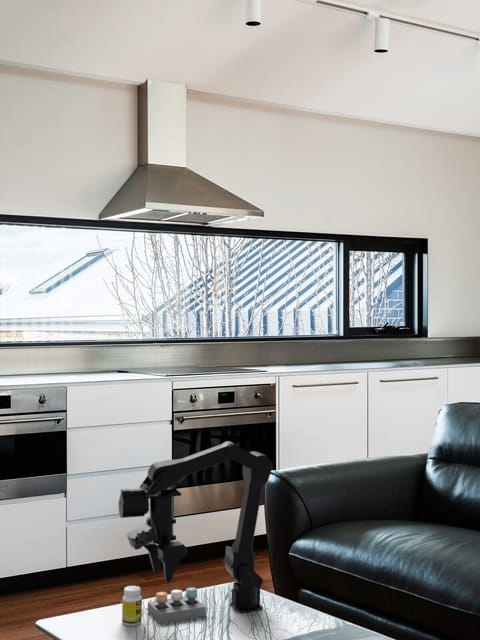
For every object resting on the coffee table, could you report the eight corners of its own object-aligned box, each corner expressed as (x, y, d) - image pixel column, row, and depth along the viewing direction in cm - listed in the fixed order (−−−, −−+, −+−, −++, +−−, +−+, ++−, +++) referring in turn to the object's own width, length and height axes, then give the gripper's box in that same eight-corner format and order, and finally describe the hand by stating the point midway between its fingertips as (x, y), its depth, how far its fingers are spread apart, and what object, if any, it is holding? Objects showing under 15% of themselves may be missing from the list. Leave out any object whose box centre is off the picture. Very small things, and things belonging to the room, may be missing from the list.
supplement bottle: (138, 627, 205) (138, 592, 205) (119, 625, 206) (119, 590, 206) (144, 619, 210) (144, 585, 210) (125, 618, 211) (126, 584, 211)
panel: (191, 604, 221) (191, 595, 221) (205, 616, 213) (205, 606, 213) (147, 611, 215) (147, 601, 215) (160, 623, 207) (160, 613, 207)
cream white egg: (179, 604, 216) (179, 589, 216) (183, 608, 213) (184, 592, 213) (169, 606, 215) (169, 590, 215) (173, 610, 212) (173, 594, 212)
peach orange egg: (164, 607, 214) (165, 591, 214) (168, 610, 212) (169, 594, 212) (154, 608, 213) (154, 592, 213) (158, 612, 210) (158, 596, 210)
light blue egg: (194, 602, 218) (194, 586, 218) (198, 606, 215) (198, 590, 215) (184, 604, 216) (184, 588, 216) (188, 607, 214) (188, 591, 214)
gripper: (118, 509, 216) (118, 571, 217) (143, 527, 199) (144, 593, 200) (159, 504, 221) (160, 564, 222) (187, 521, 204) (188, 586, 205)
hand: (162, 577), depth 212 cm, fingers open, 8 cm apart
